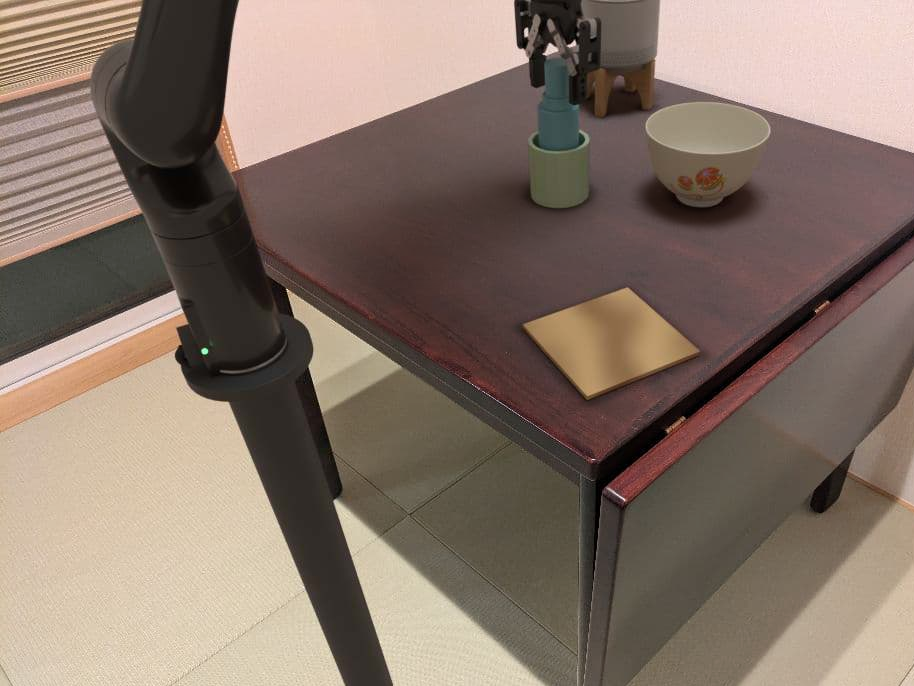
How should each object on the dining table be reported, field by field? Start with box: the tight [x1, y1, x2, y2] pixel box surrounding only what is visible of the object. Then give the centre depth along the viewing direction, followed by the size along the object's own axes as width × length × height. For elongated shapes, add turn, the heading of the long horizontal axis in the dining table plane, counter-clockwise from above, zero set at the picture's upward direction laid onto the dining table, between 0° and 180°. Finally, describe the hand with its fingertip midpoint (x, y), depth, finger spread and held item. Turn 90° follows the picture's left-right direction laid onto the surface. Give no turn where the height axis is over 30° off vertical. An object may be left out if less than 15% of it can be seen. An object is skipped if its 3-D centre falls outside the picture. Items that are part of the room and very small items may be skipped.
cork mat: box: [522, 286, 701, 401], centre depth 86 cm, size 14×14×1 cm
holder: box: [527, 129, 591, 209], centre depth 109 cm, size 8×8×8 cm
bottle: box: [536, 57, 580, 151], centre depth 105 cm, size 5×5×18 cm
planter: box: [581, 0, 661, 118], centre depth 128 cm, size 13×13×18 cm
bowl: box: [644, 101, 772, 208], centre depth 106 cm, size 16×16×10 cm
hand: (557, 94), depth 102 cm, fingers open, 7 cm apart
